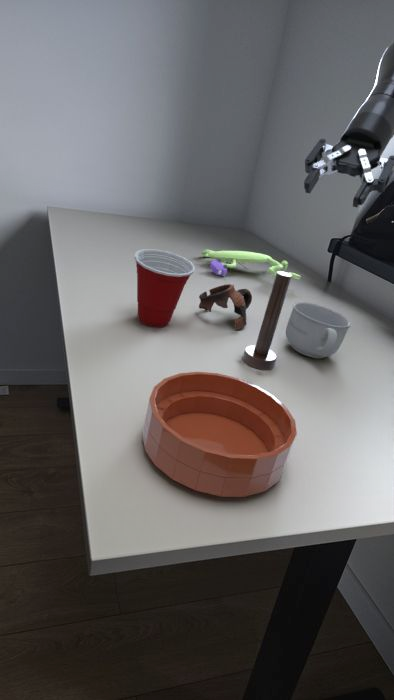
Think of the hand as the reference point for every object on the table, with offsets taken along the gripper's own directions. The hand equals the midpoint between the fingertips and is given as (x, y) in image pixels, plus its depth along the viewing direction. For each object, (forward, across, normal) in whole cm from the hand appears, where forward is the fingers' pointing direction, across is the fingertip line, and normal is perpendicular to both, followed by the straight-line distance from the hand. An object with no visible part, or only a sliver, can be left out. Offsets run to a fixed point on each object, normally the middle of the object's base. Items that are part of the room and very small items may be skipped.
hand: (330, 196), depth 82 cm
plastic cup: (+30, -21, +10) cm, 38 cm away
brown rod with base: (+28, 0, +11) cm, 30 cm away
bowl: (+47, +7, -8) cm, 48 cm away
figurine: (-5, -25, +44) cm, 51 cm away
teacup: (+20, +5, +20) cm, 29 cm away
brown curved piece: (+20, -13, +20) cm, 31 cm away
